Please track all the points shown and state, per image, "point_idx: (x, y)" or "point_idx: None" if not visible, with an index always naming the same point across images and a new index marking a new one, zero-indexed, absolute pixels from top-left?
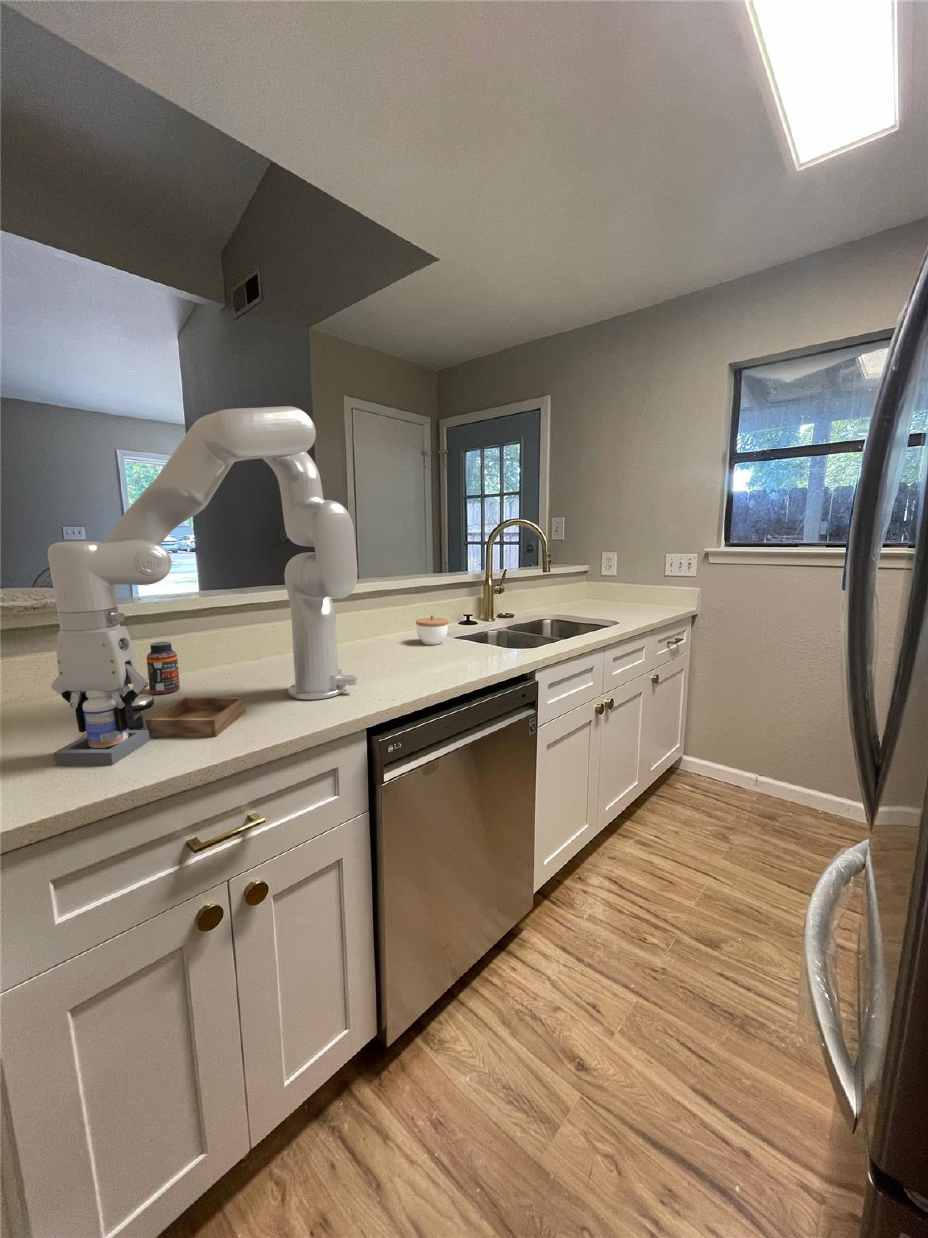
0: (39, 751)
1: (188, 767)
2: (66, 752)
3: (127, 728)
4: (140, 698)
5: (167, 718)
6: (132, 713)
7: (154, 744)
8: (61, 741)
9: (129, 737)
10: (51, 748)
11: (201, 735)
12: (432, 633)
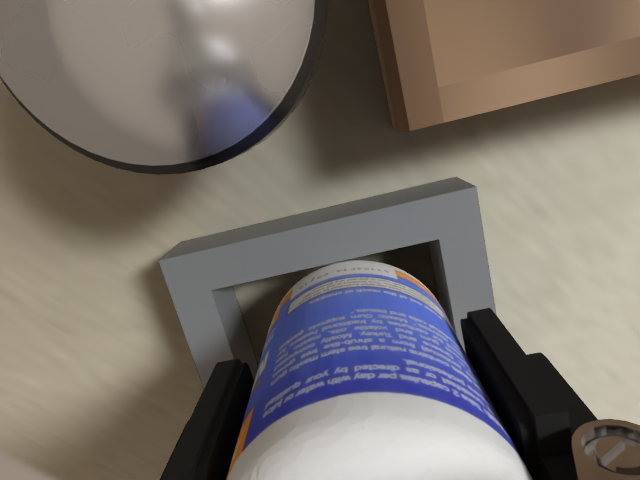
0: (47, 389)
1: None
2: None
3: (430, 299)
4: None
5: (555, 61)
6: (568, 388)
7: (516, 205)
8: (11, 287)
9: (452, 302)
10: (60, 356)
11: None
12: None
